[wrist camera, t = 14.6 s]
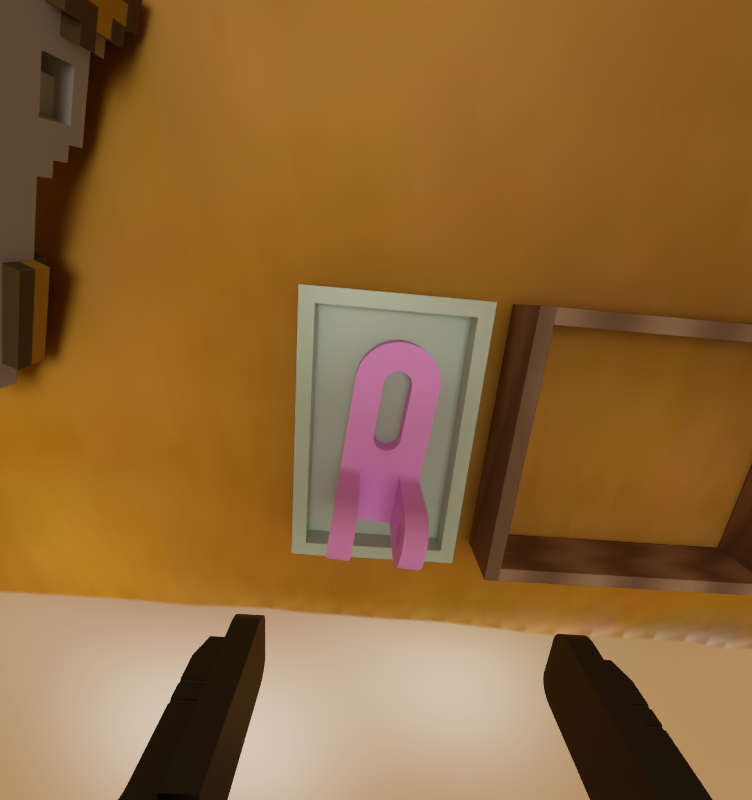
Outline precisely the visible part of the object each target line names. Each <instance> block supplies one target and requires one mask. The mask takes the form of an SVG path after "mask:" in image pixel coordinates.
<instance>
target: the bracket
mask: <svg viewBox="0 0 752 800" xmlns="http://www.w3.org/2000/svg"><path fill="white" fill-rule="evenodd" d="M396 371H400V372H404V373H406V374H407V375H408V376H409V377H410V384H409V388H408V393H407V398H406V403H405V407H404V412H403V417H402V422H401V426H400V431H399V435H398V437H397V438H396V439H395V440H394V441H392V442H390V443H383V442H380V441H378V440H377V439H376V438H375V436H374V432H375V427H376V422H377V417H378V411H379V406H380V401H381V396H382V390H383V385H384V381H385V379H386V377H387V376H388V375H389V374H391V373H393V372H396ZM440 389H441V378H440V373H439V370H438V367H437V365H436V363H435V361H434V360H433V358H432V357H431V356H430V355H429V354H428V353H427V352H426V351H425V350H424V349H422V348H421V347H420V346H418V345H416V344H414V343H412V342H409V341H405V340H389V341H385V342H382V343H380V344H378V345H376V346H374V347H373V348H372V349H370V350H369V351H368V352H367V353H366V354H365V355H364V357H363V358H362V360H361V361H360V363H359V366H358V369H357V373H356V378H355V384H354V390H353V396H352V402H351V408H350V414H349V420H348V426H347V432H346V438H345V444H344V449H343V455H342V461H341V467H340V473H339V479H338V485H337V491H336V497H335V503H334V509H333V515H332V521H331V527H330V533H329V539H328V545H327V550H326V556H325V558H330V559H337V560H344V561H349V560H350V557H351V552H352V547H353V541H354V535H355V529H356V522H357V519H363V520H370V521H377V522H384V523H390V534H391V545H392V556H393V564H394V567H396V568H403V569H410V570H418V571H419V570H421V569H422V567H423V565H424V562H425V558H426V554H427V548H428V539H429V519H428V512H427V509H426V505H425V501H424V498H423V494H422V490H421V487H420V474H421V470H422V466H423V462H424V457H425V453H426V449H427V445H428V440H429V436H430V432H431V428H432V424H433V419H434V415H435V411H436V407H437V402H438V398H439V394H440Z"/></svg>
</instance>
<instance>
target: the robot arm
mask: <svg viewBox="0 0 752 800" xmlns="http://www.w3.org/2000/svg"><path fill="white" fill-rule="evenodd" d="M264 663H265V616H263V615H248V614H236V615H235V616H234V618H233V620H232V622H231V624H230V627H229V629H228V631H227V634H226V636H225V637H214V636H210V637H209V638H208V639H207V640H206V641H205V643H204V644H203V645H202V646H201V647H200V648H199V649H198V650H197V651H196V652H195V653H194V654H193V655H192V657H191V659H190V661H189V663H188V665H187V667H186V669H185V671H184V673H183V675H182V677H181V681H180V683H178V685H177V687H176V689H175V691H174V693H173V695H172V697H171V701H170V703H169V704H168V705H167V707H166V709H165V711H164V713H163V715H162V717H161V719H160V721H159V723H158V725H157V727H156V729H155V731H154V733H153V735H152V737H151V739H150V741H149V743H148V745H147V747H146V749H145V751H144V753H143V755H142V757H141V759H140V761H139V763H138V765H137V767H136V769H135V771H134V773H133V775H132V777H131V779H130V781H129V782H128V785H127V786H126V788H125V790H124V792H123V793H122V795H121V796H120V798H119V799H118V800H227V799H228V796H229V792H230V789H231V785H232V782H233V778H234V775H235V771H236V768H237V764H238V761H239V757H240V754H241V751H242V747H243V744H244V740H245V737H246V733H247V730H248V726H249V723H250V719H251V716H252V713H253V709H254V706H255V702H256V699H257V695H258V692H259V688H260V685H261V681H262V676H263V671H264ZM543 680H544V689H545V694H546V698H547V701H548V703H549V706H550V708H551V710H552V713H553V715H554V717H555V719H556V722H557V724H558V726H559V729H560V731H561V733H562V736H563V738H564V740H565V743H566V745H567V747H568V750H569V752H570V754H571V757H572V759H573V761H574V763H575V766H576V768H577V770H578V773H579V775H580V777H581V780H582V782H583V784H584V787H585V789H586V791H587V793H588V796H589V798H590V800H712V798H711V797H710V795H709V794H708V792H707V791H706V789H705V788H704V786H703V785H702V783H701V782H700V781H699V779H698V778H697V776H696V775H695V773H694V772H693V770H692V769H691V767H690V766H689V764H688V763H687V761H686V760H685V758H684V757H683V755H682V754H681V753H680V751H679V749H678V748H677V747H676V745H675V744H674V742H673V741H672V739H671V738H670V737H669V735H668V733H667V732H666V731H664V730H663V728H662V724H661V723H660V721H659V720H658V719H657V717H656V715H655V714H654V713H653V711H652V710H650V709H649V707H648V704H647V702H646V701H645V699H644V698H643V696H642V695H641V693H640V692H639V690H638V689H637V688H636V686H635V684H634V683H633V682H632V680H631V679H630V678H629V677H628V676H627V675H625V674H624V673H623V672H622V671H621V670H620V669H619V668H618V667H617V666H616V665H615V664H614V663H613V662H612V661H611V660H604V659H603V658H602V656H601V655H600V653H599V651H598V650H597V648H596V647H595V645H594V644H593V642H592V641H591V640H590V639H589V638H588V637H587V636H584V635H567V634H557V635H556V636H555V637H554V640H553V643H552V647H551V650H550V654H549V657H548V661H547V664H546V668H545V671H544V679H543Z"/></svg>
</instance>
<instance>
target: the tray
mask: <svg viewBox="0 0 752 800" xmlns="http://www.w3.org/2000/svg"><path fill="white" fill-rule="evenodd" d="M496 306H497V302H490V301H479V300H468V299H457V298H446V297H435V296H424V295H413V294H402V293H391V292H380V291H369V290H358V289H347V288H335V287H324V286H313V285H302V284H298V324H297V363H296V402H295V441H294V480H293V519H292V554H309V555H325V556H326V550H327V545H328V539H329V533H330V527H331V521H332V515H333V509H334V503H335V497H336V491H337V485H338V479H339V473H340V467H341V461H342V455H343V449H344V444H345V438H346V432H347V426H348V420H349V414H350V408H351V402H352V396H353V390H354V384H355V378H356V373H357V369H358V366H359V363H360V361H361V360H362V358H363V357H364V355H365V354H366V353H367V352H368V351H369V350H370V349H372V348H373V347H374V346H376V345H378V344H380V343H382V342H385V341H389V340H405V341H409V342H412V343H414V344H416V345H418V346H420V347H421V348H422V349H424V350H425V351H426V352H427V353H428V354H429V355H430V356H431V357H432V358H433V360H434V361H435V363H436V365H437V367H438V370H439V373H440V378H441V389H440V394H439V398H438V402H437V407H436V411H435V415H434V419H433V424H432V428H431V432H430V436H429V440H428V445H427V449H426V453H425V457H424V462H423V466H422V470H421V474H420V487H421V490H422V494H423V498H424V501H425V505H426V509H427V512H428V519H429V539H428V548H427V554H426V558H425V562H442V563H452V561H453V555H454V549H455V543H456V538H457V532H458V526H459V520H460V514H461V509H462V503H463V497H464V491H465V485H466V480H467V474H468V468H469V462H470V456H471V451H472V445H473V439H474V433H475V427H476V422H477V416H478V410H479V404H480V398H481V393H482V387H483V381H484V375H485V369H486V364H487V358H488V352H489V346H490V340H491V335H492V329H493V323H494V317H495V311H496ZM409 384H410V377H409V376H408V375H407V374H406V373H404V372H400V371H396V372H393V373H391V374H389V375H388V376H387V377H386V379H385V381H384V385H383V390H382V396H381V401H380V406H379V411H378V417H377V422H376V427H375V432H374V436H375V438H376V439H377V440H378V441H380V442H383V443H390V442H392V441H394V440H395V439H396V438H397V437H398V435H399V431H400V426H401V422H402V417H403V412H404V407H405V403H406V398H407V393H408V388H409ZM351 557H359V558H375V559H392V560H393V556H392V545H391V534H390V523H384V522H377V521H370V520H363V519H357V522H356V529H355V535H354V541H353V547H352V552H351Z"/></svg>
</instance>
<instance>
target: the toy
mask: <svg viewBox="0 0 752 800" xmlns="http://www.w3.org/2000/svg"><path fill="white" fill-rule="evenodd" d="M141 3H142V0H0V388H3V387H5V386H8V385H10V384H13V383H15V382H16V374H17V370H19V369H22V368H25V367H27V366H30V365H32V364H35V363H38V362H40V361H43V360H45V346H46V329H47V311H48V294H49V277H50V267H48V258H46V257H43V256H41V255H39V254H37V253H35V252H34V242H35V215H36V188H37V176H38V177H46V178H52V175H53V160H54V161H59V162H65V163H68V151H69V145H70V146H75V147H79V148H82V147H83V135H84V123H85V112H86V100H87V88H88V76H89V65H90V53H91V52H92V53H93V54H95V55H97V56H99V57H101V58H102V59H104V53H105V43H106V40H108V41H110V42H111V43H113V44H115V45H117V46H120V47H122V48H123V45H124V37H125V30H126V31H128V32H132V33H134V34H136V35H137V34H138V26H139V18H140V11H141Z"/></svg>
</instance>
